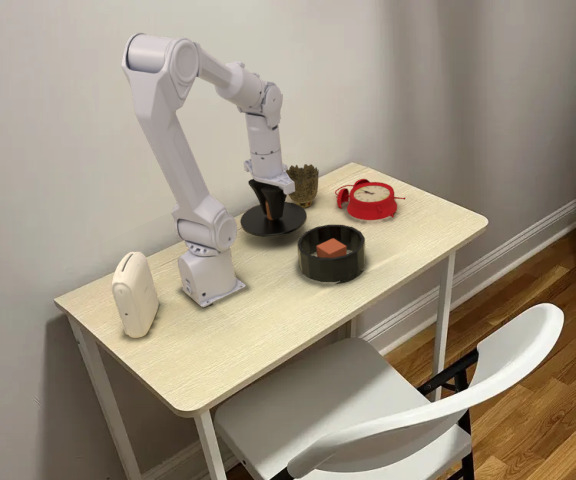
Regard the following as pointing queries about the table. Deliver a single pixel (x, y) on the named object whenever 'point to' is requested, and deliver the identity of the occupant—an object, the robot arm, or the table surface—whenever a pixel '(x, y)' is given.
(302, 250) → the pot
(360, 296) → the table surface
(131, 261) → the photo printer
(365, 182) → the alarm clock
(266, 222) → the lid
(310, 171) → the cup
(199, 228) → the robot arm
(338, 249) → the block
